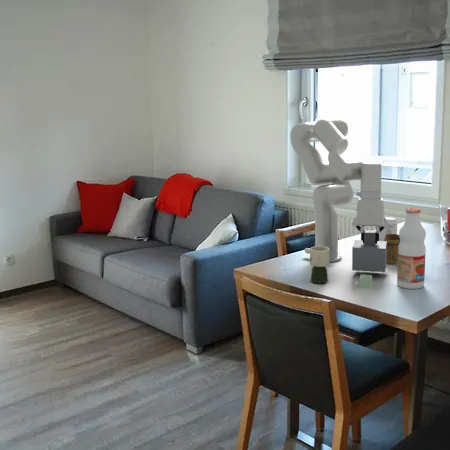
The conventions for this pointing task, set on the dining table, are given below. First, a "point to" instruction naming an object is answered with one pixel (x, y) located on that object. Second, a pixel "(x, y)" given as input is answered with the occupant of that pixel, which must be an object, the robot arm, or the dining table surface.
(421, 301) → the dining table surface
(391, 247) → the wooden mug
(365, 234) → the cover
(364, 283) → the block
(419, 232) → the fruit juice
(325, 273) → the character mug
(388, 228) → the supplement can
